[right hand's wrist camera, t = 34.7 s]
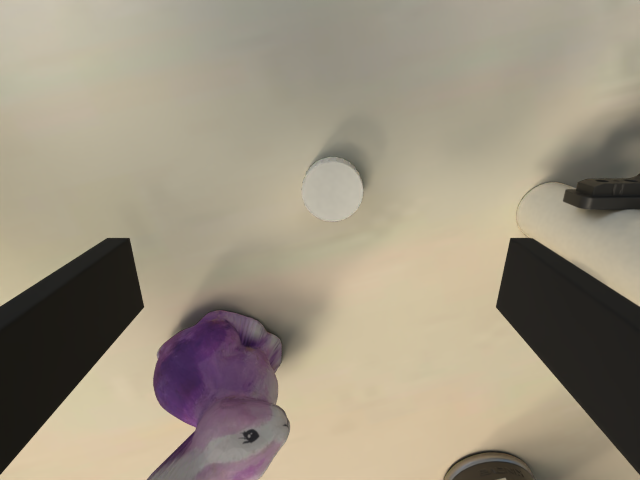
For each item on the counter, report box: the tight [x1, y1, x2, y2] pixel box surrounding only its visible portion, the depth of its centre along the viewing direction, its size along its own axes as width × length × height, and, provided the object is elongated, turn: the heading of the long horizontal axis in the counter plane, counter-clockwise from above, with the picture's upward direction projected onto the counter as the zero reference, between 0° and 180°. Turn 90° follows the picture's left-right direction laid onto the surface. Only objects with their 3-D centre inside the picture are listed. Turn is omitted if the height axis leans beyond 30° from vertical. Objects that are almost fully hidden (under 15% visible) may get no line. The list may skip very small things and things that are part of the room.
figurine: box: [147, 310, 290, 480], centre depth 26 cm, size 9×10×15 cm
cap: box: [301, 156, 364, 222], centre depth 26 cm, size 4×4×2 cm
